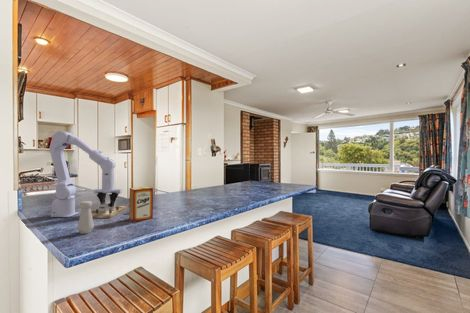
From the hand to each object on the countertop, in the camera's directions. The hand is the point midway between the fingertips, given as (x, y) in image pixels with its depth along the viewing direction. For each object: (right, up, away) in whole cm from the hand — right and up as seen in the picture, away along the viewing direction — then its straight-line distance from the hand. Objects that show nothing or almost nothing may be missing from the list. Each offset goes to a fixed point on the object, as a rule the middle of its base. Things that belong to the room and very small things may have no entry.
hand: (107, 206), depth 122 cm
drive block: (0, -3, -1) cm, 3 cm away
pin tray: (0, -4, 0) cm, 4 cm away
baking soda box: (+22, -5, -8) cm, 24 cm away
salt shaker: (+7, -5, -29) cm, 30 cm away
